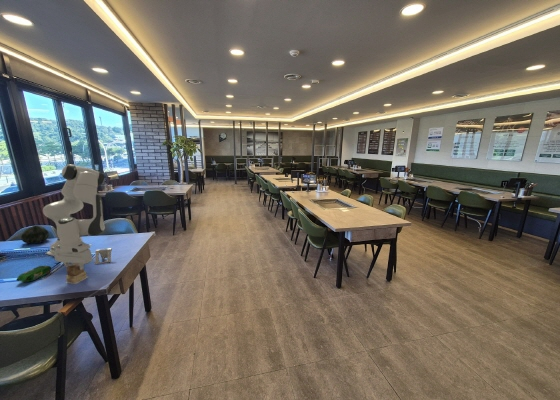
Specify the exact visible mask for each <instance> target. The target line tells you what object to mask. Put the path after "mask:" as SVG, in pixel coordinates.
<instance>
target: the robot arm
mask: <svg viewBox="0 0 560 400" xmlns="http://www.w3.org/2000/svg"><path fill="white" fill-rule="evenodd" d="M61 177H63V179H65V180H66V181H65V182H64V185H63V186H62V189H61V191H60V192H61V194H62V195H63V199H61V200H58V201H54V202H51V203H48V204H45V206H44V207H43V208H42V213H43V215H44V216H45V218H48V219H50V220H52V221H53V223H54V224H55V226H56V233H57V235H56V238H57V239H56V240H55V241H54V242H53V243H52V244H50V247H49V249H50V250H49V251H47V252H45V253H46V255H49V256H53V257H54V260H55V261H56V262H60V263H61V262H62V263H63V264H64V266H65V268H66V267H68V266H70V265H71V264H70V263H72V264H74V263H79V265H80V267H78V270H82V269H84V266H85V265H86V264H89V263H91V262H92V260H93V255H92V252H91V250H90V248H91V245H90V244H88V243H86V242H84V241H83V238H82V236H100V235H101V234H102V233H104V231H105V230H106V226H105V220H104V205H103V199H102V196H101V195H99V194H98V187H100V186H102V185H103V184H104V183H105V179H106V175H105V174H104V172H101V171H97V170H95V169H92V168H89V167H85V166H79V165H76V164H69V163H68V164H66V165H65V166H63V168H62V170H61ZM84 203H86V204H90V205H92V212H93V213H92V215H93V216H92V218H89V219H87V218H86V219H83V218H82V219H81V218H79V219H76V217H73V216H71V215H72V214H76V213H78V212H79V211H81V210H83V208H84V206H85V205H84Z"/></svg>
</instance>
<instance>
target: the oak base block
mask: <svg viewBox="0 0 560 400" xmlns="http://www.w3.org/2000/svg"><path fill="white" fill-rule="evenodd" d="M86 277H88V276H87V272H86V271H85V270H84V272H82V273H80V274H78V275H77V276H70V275H67V274H66V275H65V278H66V282H71V283H70V284H74V283H77V284H79V283H80V282H79V281H81V280H82V281H84V280H86V279H87V278H86ZM85 278H86V279H85ZM83 279H84V280H83ZM82 281H81V282H82ZM78 282H79V283H78Z"/></svg>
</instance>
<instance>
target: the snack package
mask: <svg viewBox="0 0 560 400" xmlns="http://www.w3.org/2000/svg"><path fill="white" fill-rule="evenodd" d="M52 268H53V267H51V265H39V266H36V267H34V268H32V269H29V270H27V271H25V272H23V273H21V274H19V275H18V277H17V278H16V281H17V282H23V283H25V282H26V283H27V282H28V283H29V282H33V281H36V280H38V279H41V278H42V277H43V276H47V275H48V274H49V273H50V272H51V270H52Z"/></svg>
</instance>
